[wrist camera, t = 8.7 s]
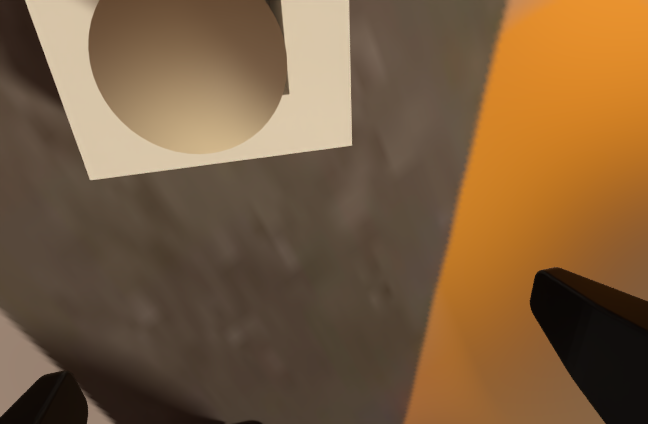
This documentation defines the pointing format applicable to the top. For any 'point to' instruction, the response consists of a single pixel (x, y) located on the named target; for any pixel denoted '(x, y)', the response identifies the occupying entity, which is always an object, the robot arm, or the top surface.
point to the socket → (273, 139)
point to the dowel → (189, 69)
